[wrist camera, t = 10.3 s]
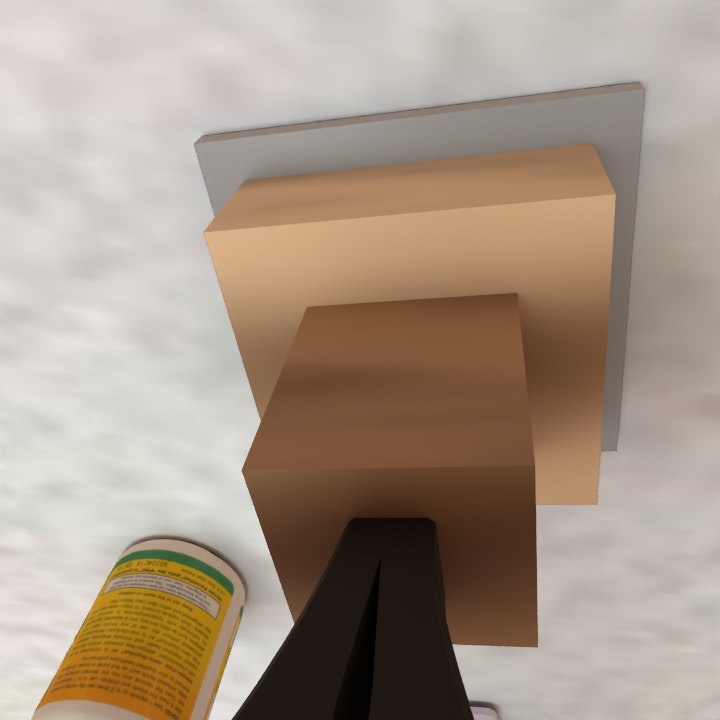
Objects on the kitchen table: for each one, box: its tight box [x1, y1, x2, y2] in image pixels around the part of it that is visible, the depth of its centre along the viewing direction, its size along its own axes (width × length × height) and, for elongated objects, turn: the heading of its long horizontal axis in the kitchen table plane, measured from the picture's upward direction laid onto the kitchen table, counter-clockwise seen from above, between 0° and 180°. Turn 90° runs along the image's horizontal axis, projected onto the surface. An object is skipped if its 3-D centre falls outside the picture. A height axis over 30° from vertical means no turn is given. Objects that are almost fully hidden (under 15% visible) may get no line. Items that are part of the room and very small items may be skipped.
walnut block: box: [242, 293, 538, 647], centre depth 13 cm, size 4×4×5 cm
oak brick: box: [203, 143, 616, 505], centre depth 16 cm, size 8×8×3 cm
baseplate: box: [194, 82, 645, 451], centre depth 18 cm, size 10×10×1 cm
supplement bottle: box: [31, 539, 245, 720], centre depth 23 cm, size 5×5×10 cm
